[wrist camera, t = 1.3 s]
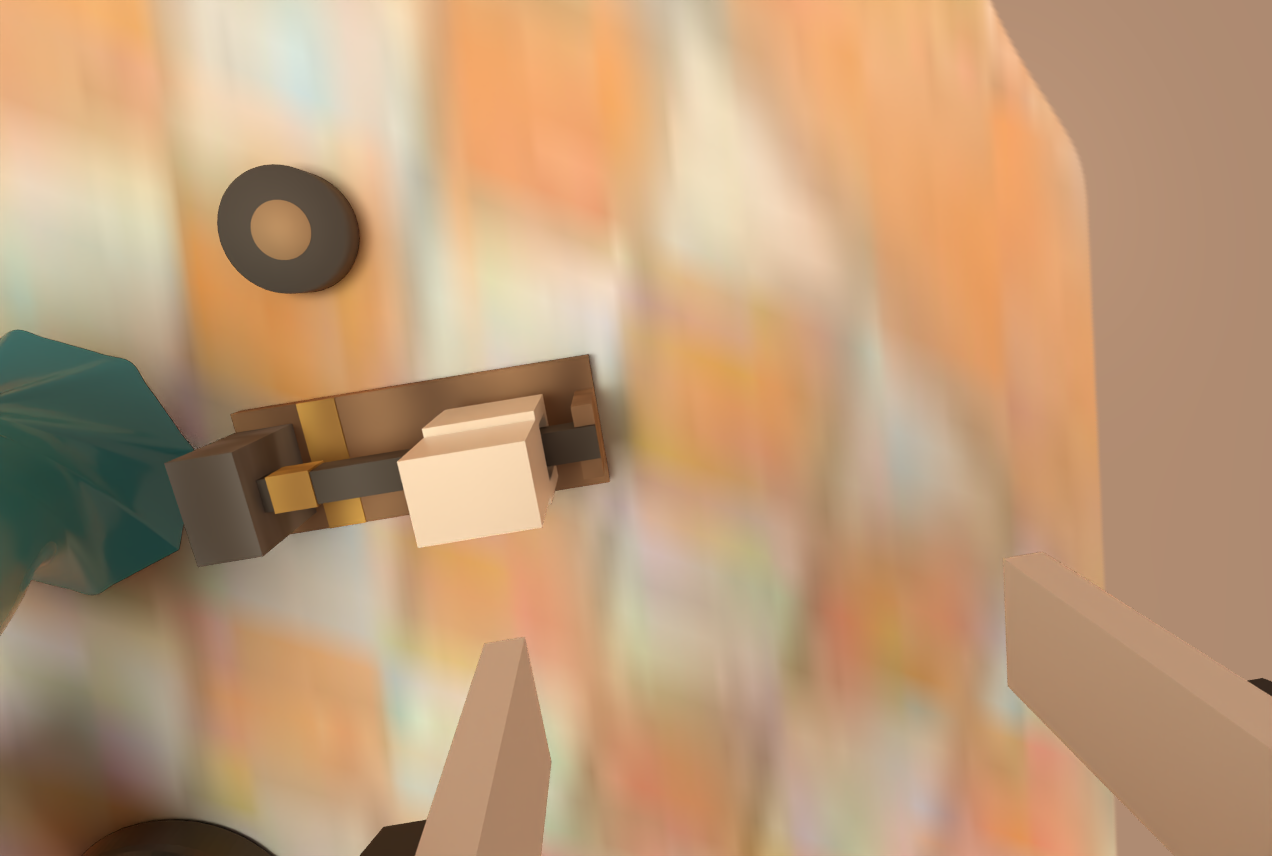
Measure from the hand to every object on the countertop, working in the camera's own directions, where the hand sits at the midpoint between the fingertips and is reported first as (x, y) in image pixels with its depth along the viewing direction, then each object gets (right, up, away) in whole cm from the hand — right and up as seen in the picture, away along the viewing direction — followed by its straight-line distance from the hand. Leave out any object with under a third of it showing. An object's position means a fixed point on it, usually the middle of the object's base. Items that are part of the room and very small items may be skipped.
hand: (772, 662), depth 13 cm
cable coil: (-20, +14, +22) cm, 33 cm away
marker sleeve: (-9, +4, +22) cm, 24 cm away
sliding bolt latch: (-14, +4, +25) cm, 29 cm away
